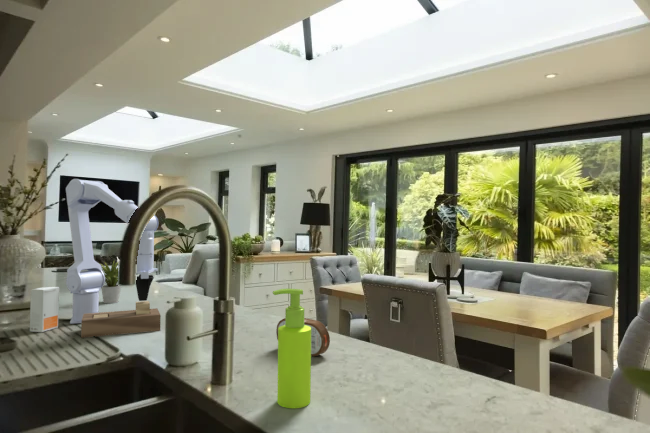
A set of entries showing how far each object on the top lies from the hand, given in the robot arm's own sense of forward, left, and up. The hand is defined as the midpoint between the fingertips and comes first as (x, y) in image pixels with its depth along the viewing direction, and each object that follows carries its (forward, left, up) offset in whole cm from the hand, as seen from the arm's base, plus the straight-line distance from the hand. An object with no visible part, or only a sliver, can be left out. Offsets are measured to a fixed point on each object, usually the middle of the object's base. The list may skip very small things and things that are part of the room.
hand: (142, 300), depth 130 cm
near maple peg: (0, -11, -8) cm, 13 cm away
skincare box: (-9, -26, -8) cm, 28 cm away
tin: (+41, +33, -8) cm, 54 cm away
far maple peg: (0, 0, -5) cm, 5 cm away
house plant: (-49, -9, -8) cm, 50 cm away
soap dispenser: (+67, +20, -8) cm, 71 cm away
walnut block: (0, -6, -8) cm, 10 cm away
